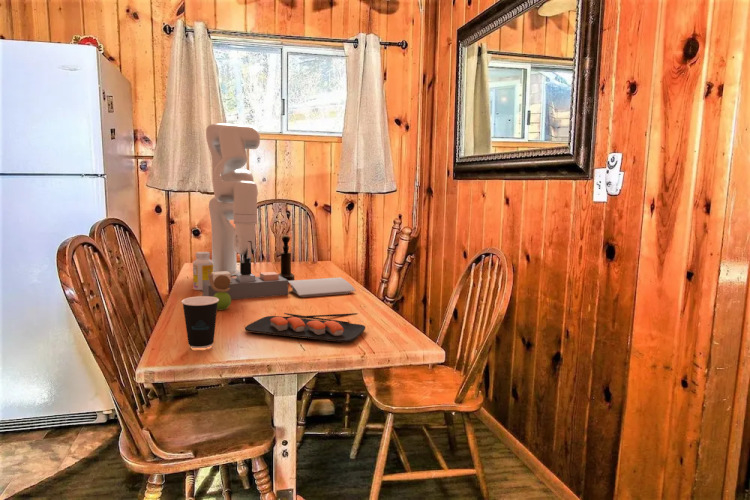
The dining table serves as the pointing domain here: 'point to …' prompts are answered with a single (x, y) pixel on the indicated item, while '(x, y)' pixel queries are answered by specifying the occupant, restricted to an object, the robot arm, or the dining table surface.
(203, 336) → the dixie cup
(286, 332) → the sushi plate
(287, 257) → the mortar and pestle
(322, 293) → the book
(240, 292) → the key panel
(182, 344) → the dining table surface
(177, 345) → the dining table surface
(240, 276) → the slate key
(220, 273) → the cream key
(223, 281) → the snail figurine
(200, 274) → the supplement bottle
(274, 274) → the terracotta key
